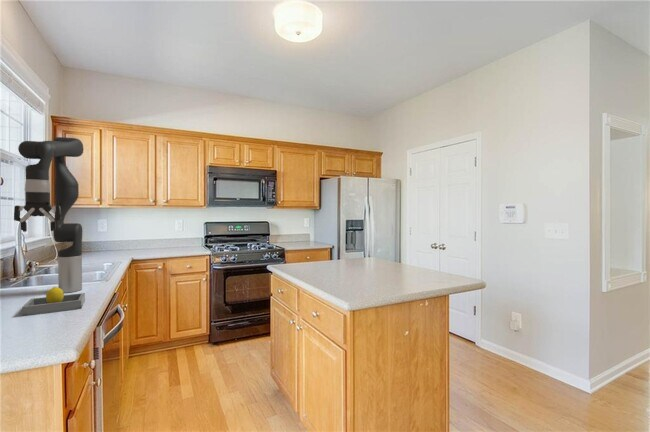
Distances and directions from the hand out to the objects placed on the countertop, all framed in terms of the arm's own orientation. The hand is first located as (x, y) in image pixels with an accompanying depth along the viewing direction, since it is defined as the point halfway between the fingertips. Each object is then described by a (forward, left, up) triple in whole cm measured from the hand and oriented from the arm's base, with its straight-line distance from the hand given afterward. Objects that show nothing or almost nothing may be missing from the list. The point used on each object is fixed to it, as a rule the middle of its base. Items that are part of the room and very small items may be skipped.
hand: (38, 231), depth 131 cm
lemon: (+3, +5, -31) cm, 32 cm away
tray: (+3, +5, -32) cm, 32 cm away
